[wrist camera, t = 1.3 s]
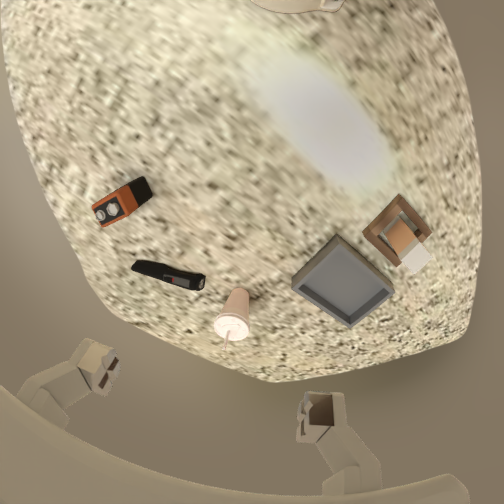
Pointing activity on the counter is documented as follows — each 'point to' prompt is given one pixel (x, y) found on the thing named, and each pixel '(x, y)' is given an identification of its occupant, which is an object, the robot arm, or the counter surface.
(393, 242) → the block
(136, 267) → the electric trimmer
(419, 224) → the frame
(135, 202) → the battery
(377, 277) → the tray
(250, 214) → the counter surface
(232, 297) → the smoothie
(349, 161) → the counter surface
